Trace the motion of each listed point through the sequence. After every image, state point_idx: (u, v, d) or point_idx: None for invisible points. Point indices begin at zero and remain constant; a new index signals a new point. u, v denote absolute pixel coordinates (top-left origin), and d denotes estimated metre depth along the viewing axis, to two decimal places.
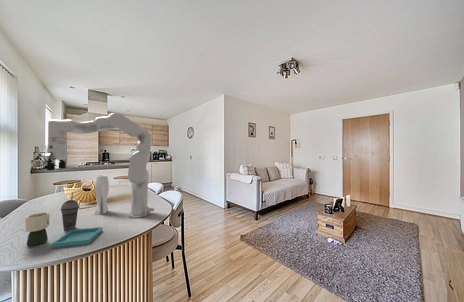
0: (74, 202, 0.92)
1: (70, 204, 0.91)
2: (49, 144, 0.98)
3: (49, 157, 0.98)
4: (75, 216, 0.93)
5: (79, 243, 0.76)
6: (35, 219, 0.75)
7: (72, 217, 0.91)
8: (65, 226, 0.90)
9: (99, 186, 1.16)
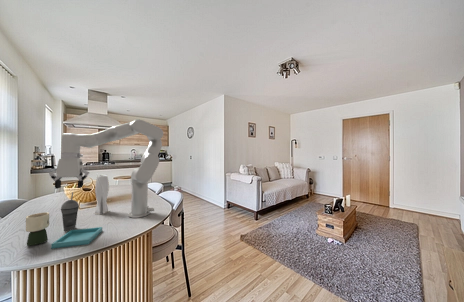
0: (74, 202, 0.92)
1: (70, 204, 0.91)
2: (79, 160, 0.93)
3: None
4: (75, 216, 0.93)
5: (79, 243, 0.76)
6: (35, 219, 0.75)
7: (72, 217, 0.91)
8: (65, 226, 0.90)
9: (99, 186, 1.16)
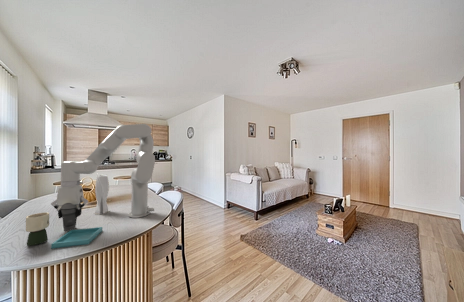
0: None
1: (70, 204, 0.91)
2: (79, 188, 0.93)
3: None
4: (75, 216, 0.93)
5: (79, 243, 0.76)
6: (35, 219, 0.75)
7: (72, 217, 0.91)
8: (65, 226, 0.90)
9: (99, 186, 1.16)
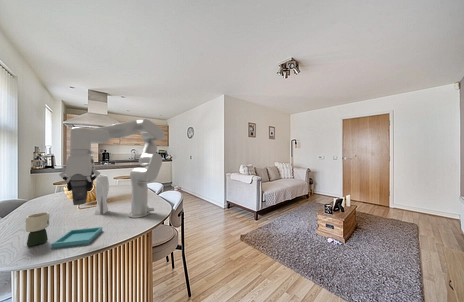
0: None
1: (80, 175, 0.81)
2: (90, 158, 0.83)
3: None
4: (86, 189, 0.83)
5: (79, 243, 0.76)
6: (35, 219, 0.75)
7: (83, 190, 0.81)
8: (75, 200, 0.80)
9: (99, 186, 1.16)
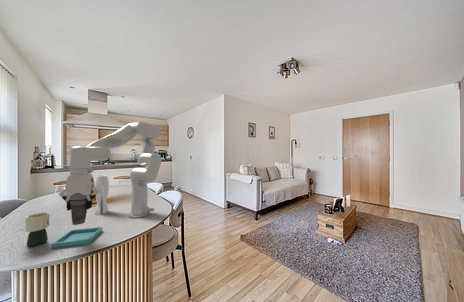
0: None
1: (80, 195, 0.80)
2: (90, 177, 0.83)
3: None
4: (85, 208, 0.82)
5: (79, 243, 0.76)
6: (35, 219, 0.75)
7: (82, 209, 0.81)
8: (74, 219, 0.80)
9: (99, 186, 1.16)
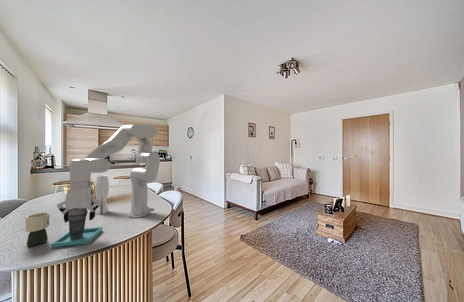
0: None
1: (78, 210, 0.80)
2: (90, 189, 0.83)
3: None
4: (83, 223, 0.82)
5: (79, 243, 0.76)
6: (35, 219, 0.75)
7: (80, 224, 0.81)
8: (72, 235, 0.79)
9: (99, 186, 1.16)
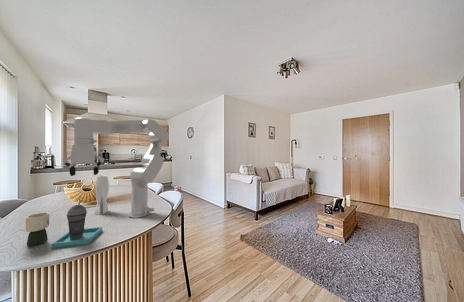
0: (82, 207, 0.82)
1: (77, 210, 0.80)
2: (93, 146, 0.89)
3: None
4: (83, 223, 0.82)
5: (79, 243, 0.76)
6: (35, 219, 0.75)
7: (79, 224, 0.81)
8: (72, 235, 0.79)
9: (99, 186, 1.16)
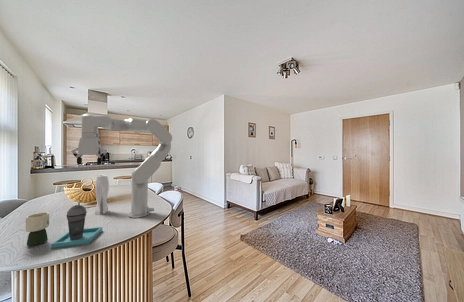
0: (81, 207, 0.82)
1: (77, 210, 0.80)
2: (97, 140, 1.02)
3: None
4: (83, 223, 0.82)
5: (79, 243, 0.76)
6: (35, 219, 0.75)
7: (79, 224, 0.81)
8: (71, 235, 0.79)
9: (99, 186, 1.16)
